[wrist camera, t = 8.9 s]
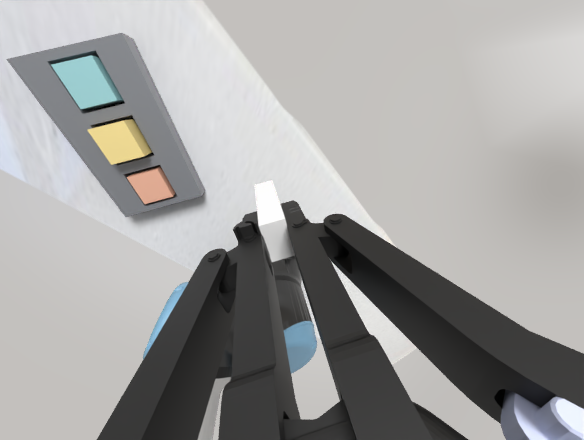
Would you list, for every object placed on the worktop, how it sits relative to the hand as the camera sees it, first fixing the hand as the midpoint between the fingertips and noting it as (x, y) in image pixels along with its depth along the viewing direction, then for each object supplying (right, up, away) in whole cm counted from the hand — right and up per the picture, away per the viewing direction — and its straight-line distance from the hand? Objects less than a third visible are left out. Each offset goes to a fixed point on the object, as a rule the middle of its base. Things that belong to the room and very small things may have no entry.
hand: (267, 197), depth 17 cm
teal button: (-26, +18, +12) cm, 33 cm away
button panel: (-24, +12, +17) cm, 32 cm away
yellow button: (-24, +11, +15) cm, 30 cm away
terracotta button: (-22, +5, +20) cm, 31 cm away
